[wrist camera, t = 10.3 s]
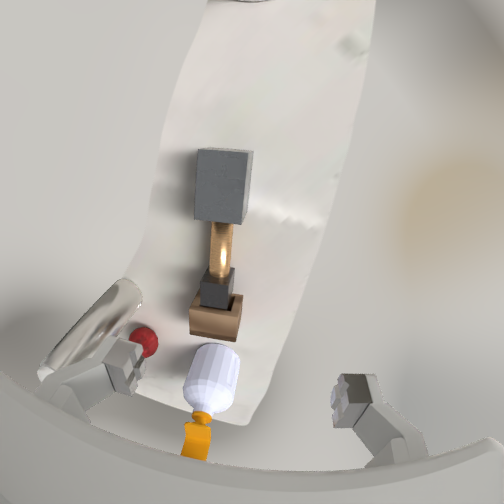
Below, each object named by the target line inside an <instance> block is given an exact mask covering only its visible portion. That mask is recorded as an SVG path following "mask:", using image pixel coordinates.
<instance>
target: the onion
mask: <svg viewBox="0 0 504 504" xmlns="http://www.w3.org/2000/svg"><path fill="white" fill-rule="evenodd" d="M129 341H131V342H135V343H138V344H141V345H142V347H143V352H142V356H143V357H144V358H147V357H150V356H152V355H153V354H154V353H155V352H156V350H157V348H158V338H157V336H156V334H155V332H154V331H153V330H151V329H149V328H145V327H141V328H137V329H135V330H134V331H133V332H132V333H131V334H130V337H129Z"/></svg>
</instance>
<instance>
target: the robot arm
mask: <svg viewBox="0 0 504 504" xmlns="http://www.w3.org/2000/svg"><path fill="white" fill-rule="evenodd" d="M240 1H265V0H240ZM142 352H143V347H142V345H141V344H138V343H135V342H131V341H128V340H125V339H122V338H118V337H115V336H112V335H110V336H108V337H107V338H106V339H105V341H104V342H103V343H102V345H101V346H100V347H99V349H98V350H97V351H96V353H95V354H94V355H93V357H92V358H86V359H84V360H82V361H79V362H77V363H75V364H72V365H70V366H68V367H65V368H63V369H60V370H58V371H55V372H53V373H51V374H48V375H47V376H46V377H45V378H44V380H43V381H42V382H41V384H40V385H39V386H38V388H37V389H36V390H35V392H34V393H32V392H30V391H29V390H27V389H26V388H24V387H23V386H21V385H20V384H18V383H17V382H15V381H14V380H13V379H11V378H10V377H8V376H7V375H6V374H4V373H3V372H2V371H0V504H504V446H503V445H502V444H501V443H499V442H498V441H497V440H495V439H493V438H491V437H487V438H483V439H481V440H478V441H476V442H473V443H470V444H468V445H465V446H462V447H459V448H456V449H453V450H450V451H446V452H443V453H439V454H436V455H432V456H429V454H428V450H427V447H426V444H425V440H424V437H423V434H422V433H421V432H420V431H419V430H418V429H417V428H416V427H415V426H413V425H412V424H411V423H410V422H409V421H408V420H407V419H406V418H404V417H403V416H402V415H401V414H400V413H399V412H398V411H396V410H395V409H394V408H393V407H392V406H391V405H390V404H389V403H385V402H384V399H383V395H382V392H381V389H380V386H379V383H378V380H377V376H376V375H375V374H340V376H339V377H338V384H337V385H336V386H334V388H333V390H332V394H331V407H332V408H333V409H334V413H333V415H332V418H333V426H334V428H353V430H354V432H355V433H356V434H357V436H358V437H359V438H360V439H361V440H362V442H363V443H364V444H365V446H366V447H367V448H368V450H369V451H370V452H371V453H372V454H373V456H374V458H373V459H372V460H371V461H370V462H369V463H367V465H366V466H365V468H361V469H351V470H337V471H278V470H264V469H253V468H245V467H237V466H230V465H223V464H218V463H212V462H207V461H202V460H197V459H193V458H189V457H184V456H180V455H176V454H172V453H168V452H165V451H162V450H158V449H155V448H151V447H148V446H145V445H142V444H139V443H136V442H133V441H130V440H128V439H125V438H122V437H120V436H117V435H115V434H112V433H110V432H107V431H105V430H102V429H100V428H98V427H96V426H93V425H91V421H90V419H89V417H88V416H87V414H86V413H85V411H87V410H88V409H90V408H91V407H93V406H95V405H96V404H98V403H99V402H101V401H102V400H104V399H106V398H107V397H109V396H110V395H112V394H113V393H115V392H118V393H121V394H125V395H128V396H131V397H132V396H133V394H134V392H135V390H136V389H137V387H138V384H137V381H138V380H140V379H141V378H142V377H143V375H144V372H145V368H146V361H145V358H144V357H143V356H142Z"/></svg>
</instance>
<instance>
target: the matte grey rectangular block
mask: <svg viewBox="0 0 504 504" xmlns="http://www.w3.org/2000/svg"><path fill="white" fill-rule="evenodd" d="M252 161H253V151H247V150H236V149H224V148H203V149H198V158H197V172H196V189H195V209H194V219H197V220H206V221H214V222H223V223H231V224H239V225H241V224H242V222H243V220H244V218H245V215H246V213H247V209H248V199H249V189H250V180H251V170H252Z"/></svg>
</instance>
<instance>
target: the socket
mask: <svg viewBox="0 0 504 504" xmlns="http://www.w3.org/2000/svg"><path fill="white" fill-rule="evenodd" d="M242 302H243V295H238V294H232V295H231V298H230V301H229V305H228V308H227V311H225V310H219V309H213V308H208V306H203V305H200V289H199V291H198V293H197V294H196V296H195V298H194V300H193V302H192V304H191V306H190V308H189V327H190V334H191V335H196V336H201V337H207V338H212V339H218V340H224V341H230V342H236V338H237V334H238V329H239V325H240V320H241V312H242Z"/></svg>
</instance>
